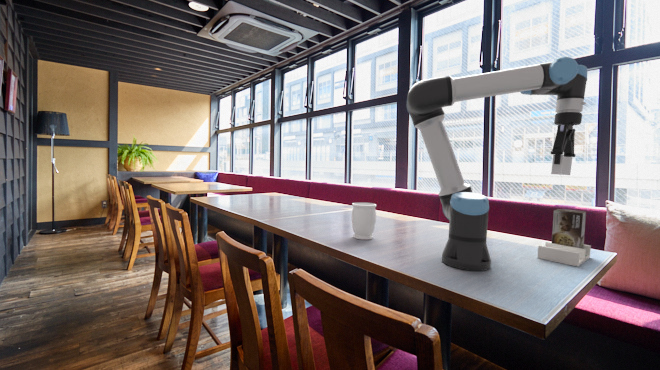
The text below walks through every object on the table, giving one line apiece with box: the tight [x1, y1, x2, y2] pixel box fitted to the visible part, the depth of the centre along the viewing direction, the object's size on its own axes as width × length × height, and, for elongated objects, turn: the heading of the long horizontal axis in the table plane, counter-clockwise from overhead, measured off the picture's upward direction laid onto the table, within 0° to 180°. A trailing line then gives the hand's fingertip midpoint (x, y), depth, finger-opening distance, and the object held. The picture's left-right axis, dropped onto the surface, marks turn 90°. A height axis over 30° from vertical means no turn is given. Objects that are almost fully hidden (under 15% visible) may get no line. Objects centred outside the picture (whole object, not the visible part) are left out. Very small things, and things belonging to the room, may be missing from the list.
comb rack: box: [537, 242, 592, 267], centre depth 118 cm, size 12×18×4 cm
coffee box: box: [551, 208, 587, 249], centre depth 121 cm, size 9×6×16 cm
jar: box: [351, 201, 378, 241], centre depth 140 cm, size 11×10×15 cm
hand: (561, 174), depth 112 cm, fingers open, 13 cm apart
